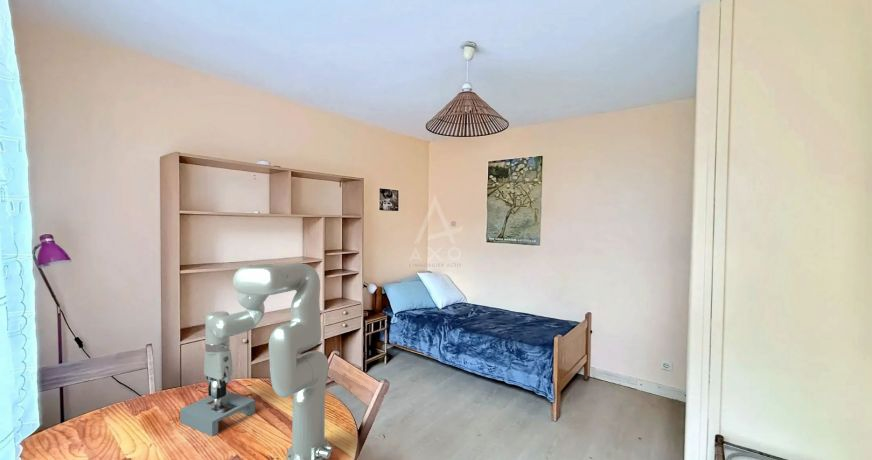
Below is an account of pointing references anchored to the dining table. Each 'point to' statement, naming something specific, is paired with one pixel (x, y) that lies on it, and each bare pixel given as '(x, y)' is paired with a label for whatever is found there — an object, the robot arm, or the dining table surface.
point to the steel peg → (214, 396)
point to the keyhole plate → (214, 412)
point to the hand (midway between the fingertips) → (217, 395)
